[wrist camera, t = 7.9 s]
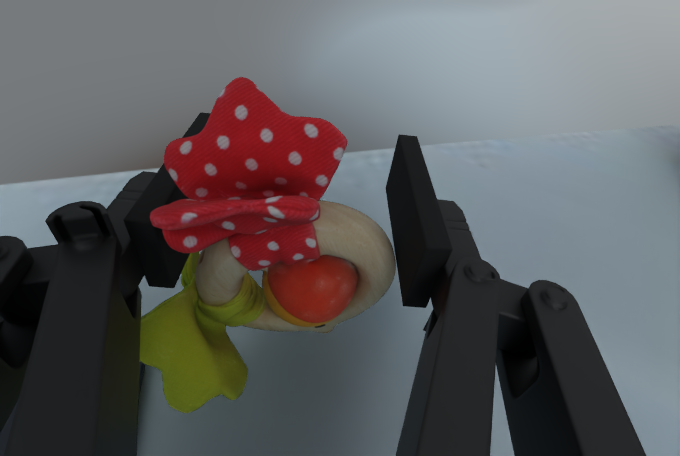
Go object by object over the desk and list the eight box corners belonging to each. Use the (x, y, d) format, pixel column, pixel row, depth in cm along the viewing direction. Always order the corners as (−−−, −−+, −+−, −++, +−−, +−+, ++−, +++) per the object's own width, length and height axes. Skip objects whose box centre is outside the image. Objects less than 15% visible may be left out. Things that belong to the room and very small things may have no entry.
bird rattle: (305, 296, 20) (121, 273, 15) (425, 130, 14) (193, 15, 10) (331, 410, 16) (87, 425, 11) (518, 236, 10) (182, 119, 5)
